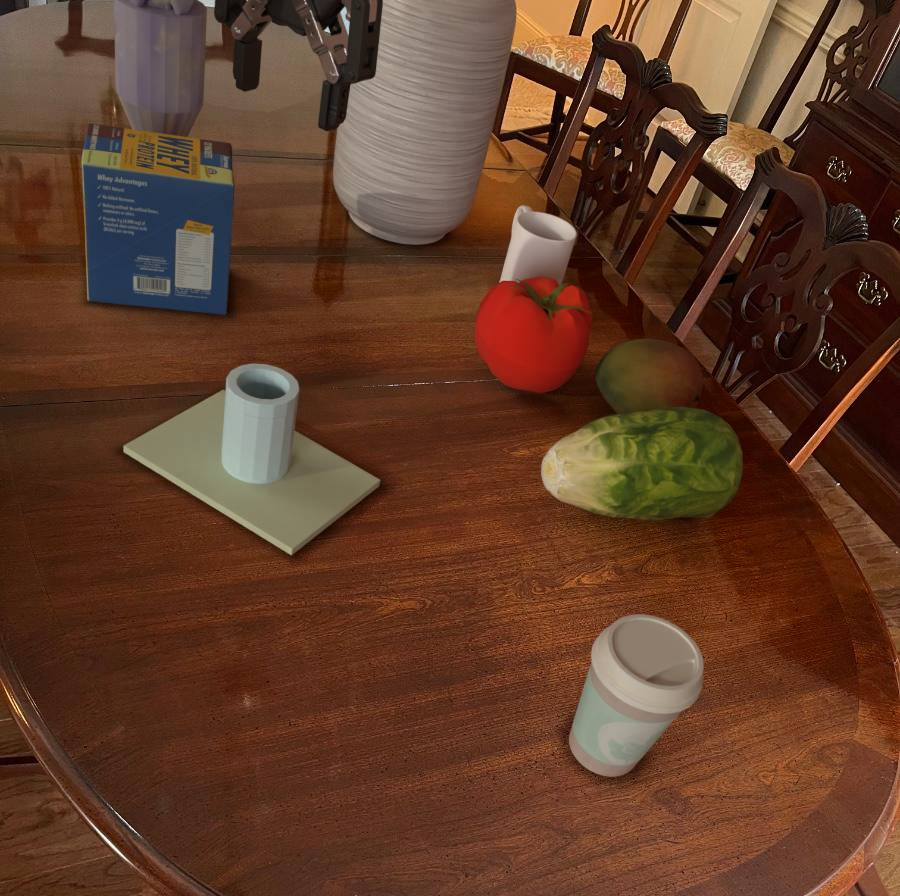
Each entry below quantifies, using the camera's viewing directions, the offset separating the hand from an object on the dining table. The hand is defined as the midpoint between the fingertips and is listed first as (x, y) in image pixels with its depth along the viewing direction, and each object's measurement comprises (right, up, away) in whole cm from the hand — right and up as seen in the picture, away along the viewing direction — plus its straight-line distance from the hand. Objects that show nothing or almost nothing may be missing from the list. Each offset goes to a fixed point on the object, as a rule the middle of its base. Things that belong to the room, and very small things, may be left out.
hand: (287, 108), depth 81 cm
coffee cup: (+26, -53, -1) cm, 59 cm away
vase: (+6, +13, +59) cm, 61 cm away
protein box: (-20, -4, +33) cm, 39 cm away
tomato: (+22, -14, +37) cm, 45 cm away
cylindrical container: (-5, -27, +13) cm, 31 cm away
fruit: (+35, -19, +35) cm, 53 cm away
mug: (+23, +1, +51) cm, 56 cm away
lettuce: (+31, -31, +22) cm, 49 cm away
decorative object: (-25, +12, +48) cm, 55 cm away
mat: (-5, -28, +14) cm, 32 cm away
